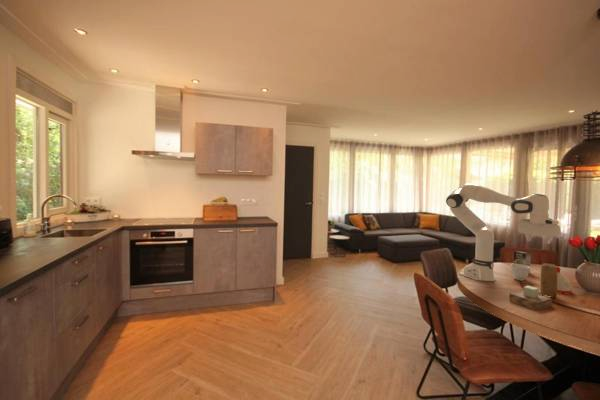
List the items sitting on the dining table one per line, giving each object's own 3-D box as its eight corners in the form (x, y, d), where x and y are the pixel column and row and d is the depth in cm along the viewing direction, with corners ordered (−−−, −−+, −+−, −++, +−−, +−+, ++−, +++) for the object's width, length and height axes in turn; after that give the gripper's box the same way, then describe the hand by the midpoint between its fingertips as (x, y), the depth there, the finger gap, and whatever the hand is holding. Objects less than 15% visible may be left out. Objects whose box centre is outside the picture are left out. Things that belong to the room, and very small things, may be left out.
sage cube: (523, 295, 160) (523, 286, 160) (528, 293, 162) (528, 285, 162) (533, 298, 156) (533, 289, 155) (538, 296, 158) (538, 288, 158)
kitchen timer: (574, 291, 178) (575, 268, 178) (566, 295, 172) (567, 271, 171) (547, 284, 190) (548, 263, 190) (538, 288, 184) (539, 266, 183)
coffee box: (512, 270, 223) (513, 251, 223) (518, 269, 225) (519, 250, 224) (524, 273, 214) (525, 253, 214) (530, 273, 216) (531, 253, 216)
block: (557, 299, 164) (558, 267, 163) (540, 296, 169) (541, 265, 168) (555, 294, 173) (556, 263, 172) (539, 291, 177) (540, 261, 176)
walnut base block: (509, 301, 163) (509, 293, 163) (523, 298, 168) (523, 290, 168) (537, 311, 150) (537, 302, 150) (551, 307, 155) (551, 298, 155)
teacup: (520, 275, 210) (520, 262, 210) (534, 282, 195) (535, 268, 195) (503, 275, 211) (503, 262, 211) (516, 281, 196) (517, 268, 196)
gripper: (516, 218, 175) (515, 240, 176) (558, 222, 157) (557, 245, 158) (521, 218, 178) (520, 239, 179) (562, 221, 160) (561, 244, 161)
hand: (538, 242), depth 168 cm, fingers open, 8 cm apart
